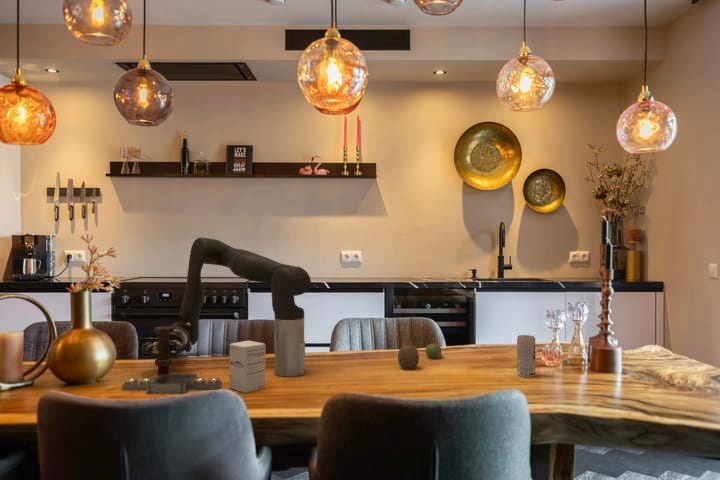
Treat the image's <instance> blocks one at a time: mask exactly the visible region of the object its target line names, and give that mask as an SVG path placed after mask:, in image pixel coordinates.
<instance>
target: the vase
mask: <svg viewBox="0 0 720 480" xmlns="http://www.w3.org/2000/svg"><path fill="white" fill-rule="evenodd" d="M419 361H420V355H419V351H418V349H417V347H416V346H415V345H414V343H413V341H412V340H404V342H403V343H402V345H401V347H400V348H399V351H398V353H397V362H398V364H399V366H400V367H401V369H402V370H407V369H411V370H415V368H417V366H418V365H419Z"/></svg>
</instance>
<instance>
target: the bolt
mask: <svg viewBox="0 0 720 480" xmlns="http://www.w3.org/2000/svg"><path fill="white" fill-rule="evenodd" d="M152 332H153V334H157V342H158V343H159V344H158V354H157V358H156V359H155V360H154V365H155V366H156V367H157V377H158V376H159V375H161V374H170V369H169V368H170V366H171V365H172V364H173V359H172V358H171V357H170V356H169V334H170V333H172V332H174V328H173V327H171V326H167V325H165V326H164V325H163V326H156V327H154V328H153V331H152Z"/></svg>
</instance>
